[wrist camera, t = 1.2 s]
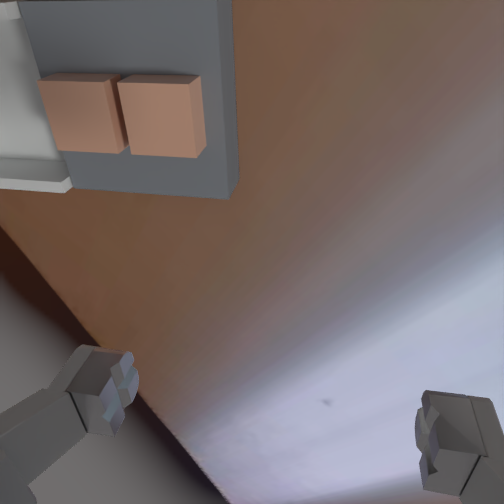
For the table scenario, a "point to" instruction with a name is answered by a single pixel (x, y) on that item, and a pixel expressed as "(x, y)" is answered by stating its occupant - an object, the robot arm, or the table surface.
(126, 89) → the front tile
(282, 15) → the table surface
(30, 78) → the bin
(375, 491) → the table surface
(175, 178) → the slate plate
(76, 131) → the rear tile
